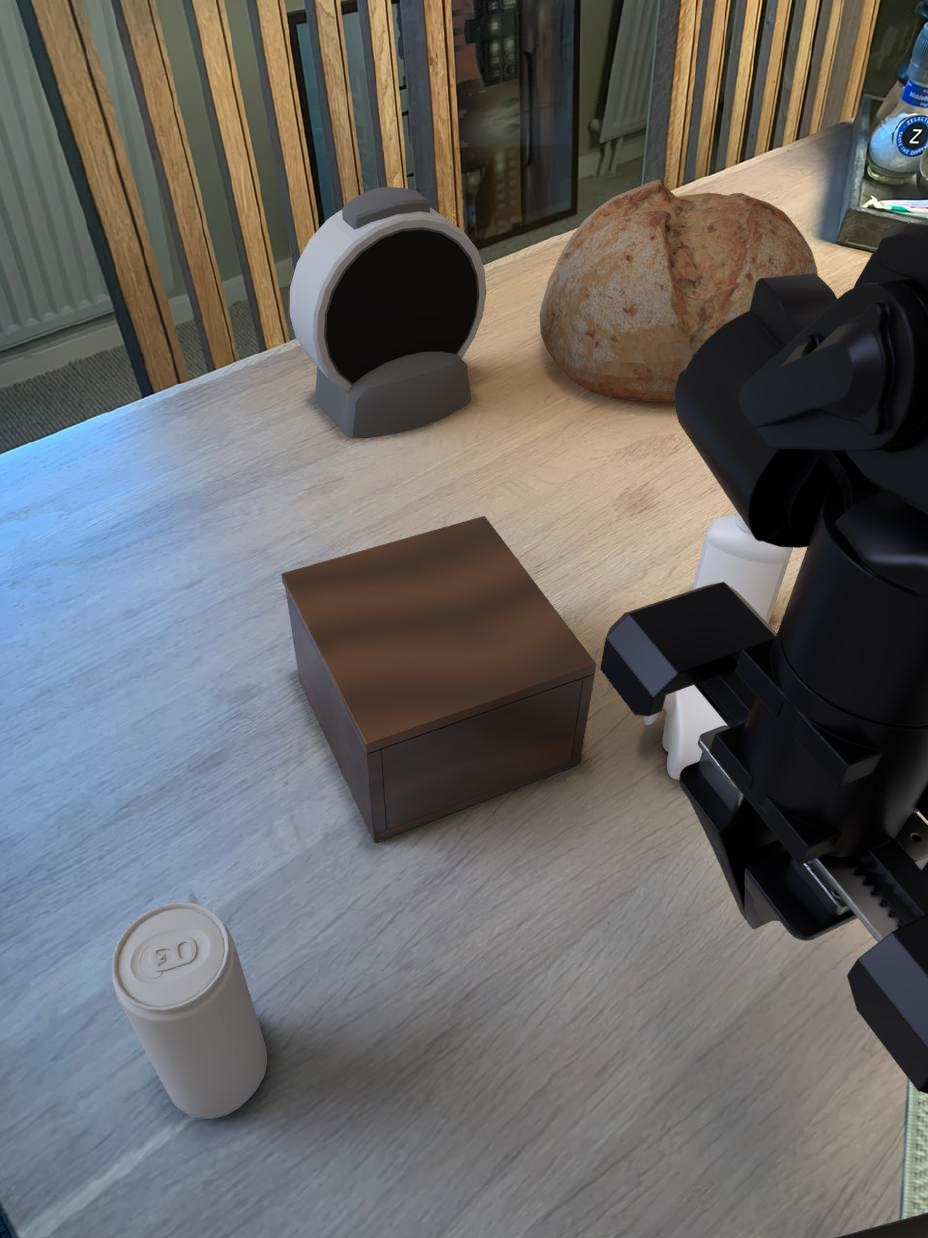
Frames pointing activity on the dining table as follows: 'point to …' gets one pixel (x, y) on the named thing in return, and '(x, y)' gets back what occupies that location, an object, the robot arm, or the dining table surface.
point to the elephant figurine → (685, 727)
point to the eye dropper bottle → (742, 563)
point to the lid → (432, 631)
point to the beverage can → (191, 1007)
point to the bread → (660, 284)
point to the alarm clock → (388, 312)
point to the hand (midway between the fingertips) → (757, 917)
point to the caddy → (446, 749)
